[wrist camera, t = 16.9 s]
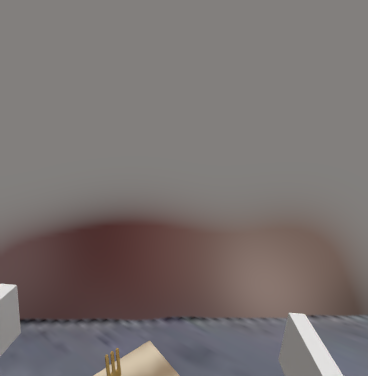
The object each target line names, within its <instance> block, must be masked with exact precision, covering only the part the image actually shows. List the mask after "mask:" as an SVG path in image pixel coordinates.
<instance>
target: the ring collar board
mask: <svg viewBox="0 0 368 376" xmlns="http://www.w3.org/2000/svg"><path fill="white" fill-rule="evenodd" d="M120 366H121V376H179V375H178V373H177V372H176V371H175V370H174V369H173V368H172V366H171V365H170V364H169V363H168V362H167V360H166V359H165V358H164V357H163V356H162V355H161V353H160V352H159V351H158V350H157V349H156V348H155V346H154V345H153V344H152V343H151V342H150V341H148V342H146V343H145V344H143V345H142V346H140V347H138V348H137V349H135V350H134V351H132V352H130V353H129V354H127V355H126V356H124V357H122V358H121V359H120ZM109 367H110V373H112V365H110V366H109ZM116 369H117V361H116V362H115V370H116ZM94 376H107V373H106V368H105V369H103V370H102V371H100V372H99V373H97V374H95V375H94Z"/></svg>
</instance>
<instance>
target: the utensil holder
mask: <svg viewBox="0 0 368 376" xmlns="http://www.w3.org/2000/svg"><path fill="white" fill-rule="evenodd" d="M116 360H117V369H116V370H115V361H114V353H113V351H112V352H111V365H112V373H110V367H109V358H108V355H106V356H105V361H106V373H107V376H121V366H120V357H119V349H118V348H116Z"/></svg>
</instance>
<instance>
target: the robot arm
mask: <svg viewBox="0 0 368 376" xmlns="http://www.w3.org/2000/svg"><path fill="white" fill-rule="evenodd" d="M17 293H18V292H17V285H9V284H0V356H1V355H2V354H3V353H4V351H5V350H6V349H7V348H8V347H9V346H10V345H11V343H12V342H13V341H14V340H15V339H16V338H17V337H18V335H19V334H20V333H21V329H20V317H19V305H18V294H17ZM279 362H280V365H281V367H282V370H283V373H284V375H285V376H343V375H342V373H341V371H340V370H339V368H338V367H337V365H336V363H335V362H334V360H333V359H332V357H331V355H330V354H329V352H328V351H327V349H326V347H325V346H324V344H323V343H322V341H321V339H320V338H319V336H318V334H317V333H316V331H315V330H314V328H313V326H312V325H311V323H310V322H309V320H308V318H307V317H306V315H305V314H297V313H289V314H288V318H287V323H286V328H285V332H284V337H283V341H282V346H281V351H280V355H279Z"/></svg>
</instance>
